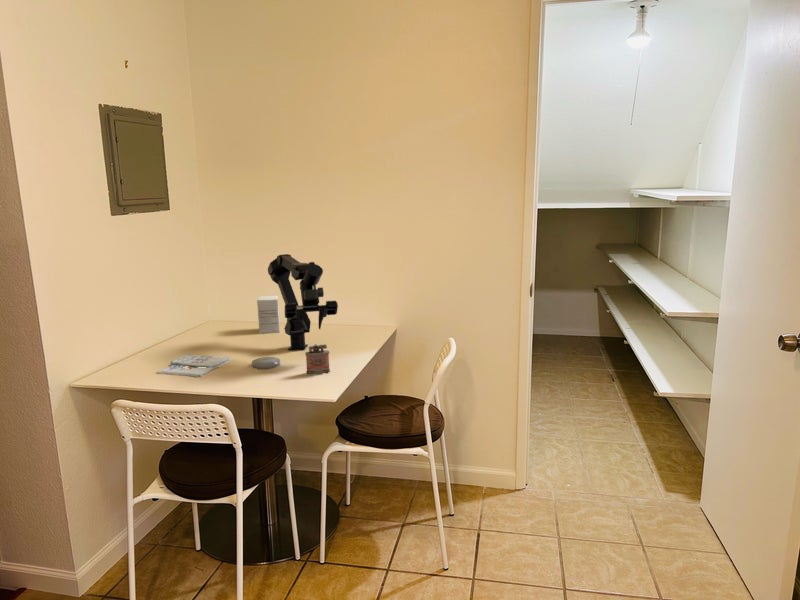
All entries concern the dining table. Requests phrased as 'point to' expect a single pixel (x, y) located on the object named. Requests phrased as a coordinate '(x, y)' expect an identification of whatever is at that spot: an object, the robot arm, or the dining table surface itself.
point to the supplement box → (268, 314)
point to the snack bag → (196, 361)
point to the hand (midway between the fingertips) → (313, 329)
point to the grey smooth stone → (266, 363)
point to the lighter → (317, 359)
